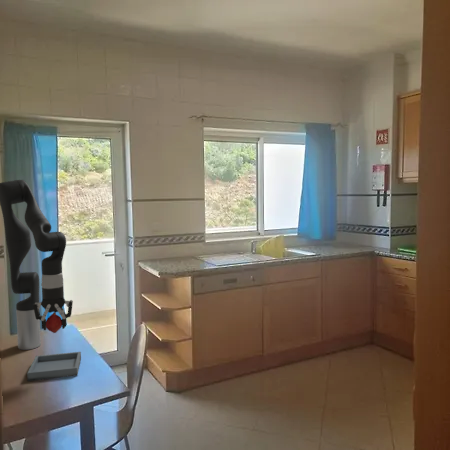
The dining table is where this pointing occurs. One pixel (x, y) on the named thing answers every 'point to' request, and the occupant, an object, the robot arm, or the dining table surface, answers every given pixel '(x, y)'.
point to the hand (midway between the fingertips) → (54, 328)
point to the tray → (54, 366)
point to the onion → (54, 323)
